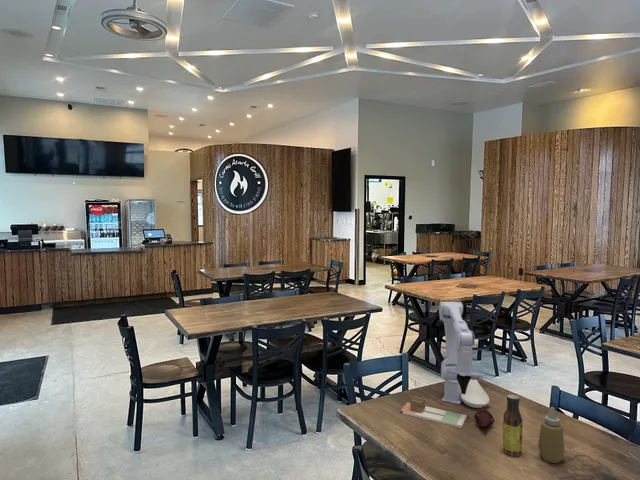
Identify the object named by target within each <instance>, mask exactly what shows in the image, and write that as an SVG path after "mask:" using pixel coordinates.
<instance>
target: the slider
mask: <svg viewBox="0 0 640 480" xmlns="http://www.w3.org/2000/svg"><path fill="white" fill-rule="evenodd" d="M409 401H410V402H409V403H410V410H413V411H418V412H423V410H424V409H425V406H426V398H424V397H420V396H413V397H412V398H411V399H410V400H409Z"/></svg>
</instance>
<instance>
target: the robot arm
mask: <svg viewBox="0 0 640 480" xmlns="http://www.w3.org/2000/svg"><path fill="white" fill-rule="evenodd" d="M438 313H439V320H440V321H442V322H443V325H444V335H445V336H444V337H445V347H446V348H445V350H446V358H445V359H444V360H442V362H441V363H440V367H441V368H440V375H441V379H442V380H444V388H443V389H444V392H443V393H444V394H443V397H442V398H441V401H443V402H447V403H452V404H457V405H461V403H462V402H463V400H462V398H461V393H462V394H466V390H467V386H468V383H469V381H470V379H471V380H472V378H473V379H479V380H482V381H483V379H484V373H482V372H478V371H475V370H473V347H474V346H475V341H476V340H475V334H474V332H473V331H472V330H470V328H469V326H468V324H467V322H466V321H465V320H463V317H462V315H463V313H464V306H463V303H462V302H461V301H440V302H439V305H438Z"/></svg>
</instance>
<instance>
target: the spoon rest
mask: <svg viewBox="0 0 640 480" xmlns="http://www.w3.org/2000/svg"><path fill="white" fill-rule="evenodd" d="M461 398H462V402H463V403H464V404H465V405H467V406H468V407H470V408H473V409H474V408H475V409H480V408H481V407H482V406H486V407H487V405H488V404H489V403H490V397H489V395H488V394H487V392H486V391H485V389H483V387H482V386H481V384H480V383H479V382H478V380H477V379H472V378H471V379H470V381H469V383H468V386H467V390H466V394H462V393H461Z"/></svg>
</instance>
